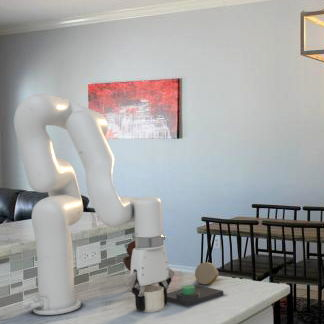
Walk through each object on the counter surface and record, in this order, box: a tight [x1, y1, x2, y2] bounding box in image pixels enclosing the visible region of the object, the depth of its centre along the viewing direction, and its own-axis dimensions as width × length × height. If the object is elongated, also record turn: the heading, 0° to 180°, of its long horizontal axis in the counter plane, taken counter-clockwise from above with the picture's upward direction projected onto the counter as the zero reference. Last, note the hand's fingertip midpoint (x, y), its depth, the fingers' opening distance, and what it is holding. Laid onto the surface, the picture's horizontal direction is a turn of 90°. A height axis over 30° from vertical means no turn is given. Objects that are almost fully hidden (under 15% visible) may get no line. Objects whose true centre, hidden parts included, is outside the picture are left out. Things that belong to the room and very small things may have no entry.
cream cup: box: [142, 285, 165, 313], centre depth 149 cm, size 7×7×6 cm
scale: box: [167, 284, 224, 307], centre depth 159 cm, size 15×13×3 cm
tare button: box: [181, 284, 195, 295], centre depth 153 cm, size 4×4×2 cm
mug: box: [194, 261, 219, 286], centre depth 176 cm, size 8×10×10 cm
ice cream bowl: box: [122, 240, 151, 289], centre depth 174 cm, size 11×11×15 cm
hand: (151, 305), depth 150 cm, fingers closed on cream cup, 6 cm apart
